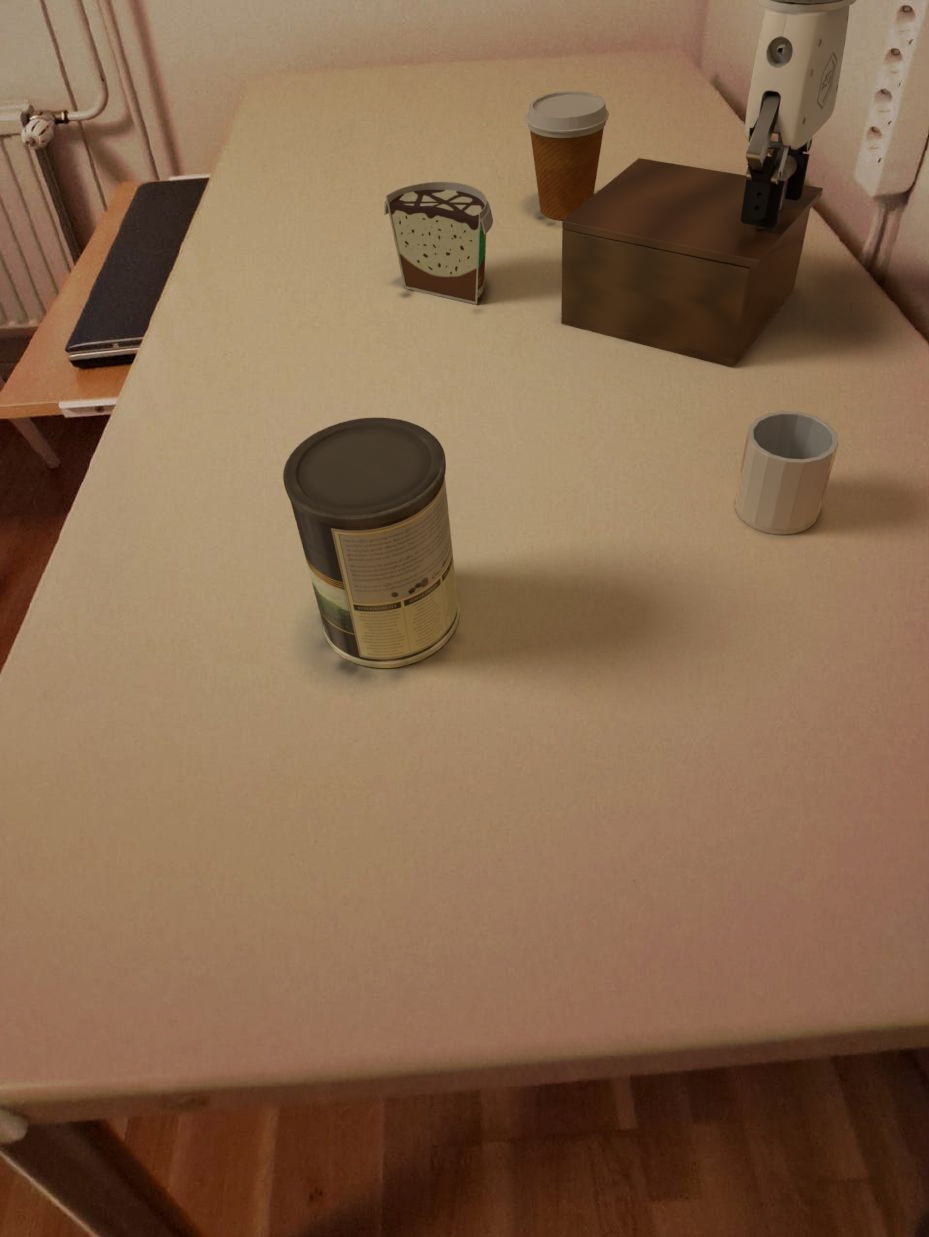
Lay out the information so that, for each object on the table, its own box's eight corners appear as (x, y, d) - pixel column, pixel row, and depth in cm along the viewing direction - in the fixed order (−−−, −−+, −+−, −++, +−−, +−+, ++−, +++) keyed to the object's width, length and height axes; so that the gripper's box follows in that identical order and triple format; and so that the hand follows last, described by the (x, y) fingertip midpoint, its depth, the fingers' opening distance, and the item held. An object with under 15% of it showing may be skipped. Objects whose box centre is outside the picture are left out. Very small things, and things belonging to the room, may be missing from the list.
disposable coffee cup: (517, 223, 114) (515, 116, 105) (539, 190, 120) (538, 87, 111) (594, 229, 111) (598, 121, 102) (612, 196, 117) (617, 91, 108)
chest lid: (821, 196, 91) (833, 137, 87) (758, 269, 81) (768, 207, 78) (638, 165, 99) (641, 110, 95) (561, 229, 90) (562, 170, 86)
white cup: (829, 497, 75) (849, 424, 70) (802, 544, 72) (821, 471, 67) (752, 474, 78) (766, 402, 73) (722, 518, 74) (735, 446, 69)
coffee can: (297, 650, 68) (252, 498, 57) (359, 557, 74) (328, 405, 64) (428, 685, 65) (405, 531, 54) (481, 585, 71) (469, 430, 61)
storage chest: (794, 290, 98) (813, 195, 91) (733, 367, 89) (749, 269, 82) (632, 255, 106) (638, 166, 99) (561, 323, 97) (561, 229, 90)
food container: (516, 282, 103) (514, 189, 96) (489, 307, 100) (484, 213, 93) (422, 261, 108) (413, 172, 101) (393, 285, 105) (381, 194, 97)
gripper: (821, 12, 67) (777, 258, 80) (891, -47, 76) (841, 181, 89) (721, 3, 70) (694, 241, 83) (800, -52, 79) (765, 169, 92)
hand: (771, 208), depth 86 cm, fingers closed on chest lid, 5 cm apart
